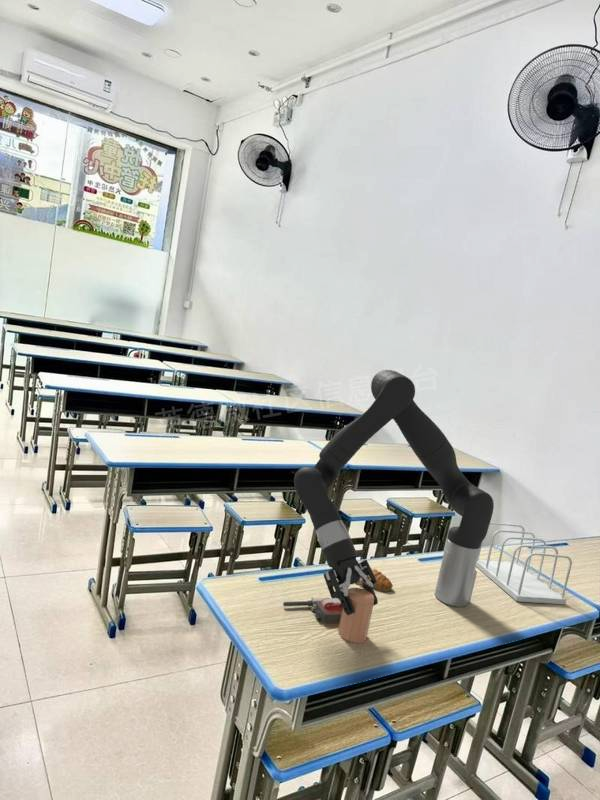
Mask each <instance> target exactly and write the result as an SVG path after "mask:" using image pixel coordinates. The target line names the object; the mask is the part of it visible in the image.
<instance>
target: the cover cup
mask: <svg viewBox="0 0 600 800" xmlns="http://www.w3.org/2000/svg"><path fill="white" fill-rule="evenodd" d="M348 596H349V598H350V600H351V602H352V605H353V607H354V610H355V612H354V613H352V614H350V615H347V614H346V613H345V612H344V609H342V614H341V619H340V623H338V624H339V625H338V630H337V631H338V635H339V636H340V638H341V639H343V640H345V641H348V643H349V642H351V643H355V644H359V643H364V642H365V641H366V640H367V637H368V633H369V627H370V623H371V618H372V615H373V614H372V613H373V608H374V606H375V605H374V596H373V594H371V593H370V592H369V591H367V590H364V589H362V588H361V587H349V588H348ZM373 605H374V606H373Z"/></svg>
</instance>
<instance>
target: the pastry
mask: <svg viewBox="0 0 600 800" xmlns="http://www.w3.org/2000/svg"><path fill="white" fill-rule="evenodd" d="M371 570H372V572H373V574H374V576H375V578H376V580H377V583H375V584H374V585H373V589H374V590H377V591H380V592H382V591H383V592H389V591H392V589H393V586H394V585H393V583H392V582H391V580H390V579H389V577H387V576H386V575H384V574H383V573H382V571H379V570H377V569H376V568H374V569H373V568H371ZM360 578H361V577H360ZM368 578H369V580H371V578H370V576H369V575H368Z"/></svg>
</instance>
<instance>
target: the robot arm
mask: <svg viewBox="0 0 600 800" xmlns="http://www.w3.org/2000/svg"><path fill="white" fill-rule="evenodd" d="M370 389H371V394H372V397H373V398H374V399H375V400H374V401H373V403H372V404H371V405H370V406H369V407H368V408H367V409H366V411H365V412H363V413H362V414H361V415H360V416H358V417H357V418H355V420H353V421H351V422H349V423H348V424H346V425H345V426H344V427H342V428H341V429H340V430H339V431H338V432H336V434H334V436H333V437H332V438H331V439H330V440H329V441H328V442H327V443H326V444H325V445H324V447H323V448H322V449H321V450H320V452H319V455H318V457H319V459H318V461H317V462H316V463H315V465H314V466H313V467H310V466H306V467H305V466H303V467H301V468H300V469H298V470H297V471H296V472H295V475H294V478H293V484H294V490H295V491H296V494H297V496H298V497H299V500H300V502H301V503H302V505H303V506H304V508H305V510H306V511H307V513H308V514H309V516H310V520H311V523H312V526H313V527H314V528H313V529H314V530H315V534H316V536H317V537H316V538H317V541H318V543H319V546H320V549H321V551H322V553H323V556H324V558H325V561H326V563H327V565H328V567H329V568H330V570H327V571H326V572H324V573H323V577H324V578H323V579H324V581H325V583H326V587H327V589H328V592H329V595H330V597H331V598H333V599H334V598H338V599H339V600H340V602H341V604H342V607H343V609H344V612H345V613H346V614H347V615H350V614H352V613H354V612H355V610H354V607H353V605H352V602H351V600H350V598H349V596H348V589H350V586H351V585H356V586H359V588H361V589H364V590H367V591H369V592H370V593H371V594H373V596H374V605H373V607H374V606H375V605H378V604H379V600H378V597H377V594H376V592H375V591H374V590H375V589H374V588H373V585H374V584H375V583H377V580H376V578H375V576H374V574H373V572H372V570H371V569H372V567H371V566H370V564H369V562H368V560H367V559H364V560H362V561H360V562H359V561H358V560H357V556H358V553H357V551H356V548H355V545H354V543H353V540H352V539H351V535H350V534H349V533H350V532H349V531H348V530H347V529H348V528H347V527H346V526H345V523H344V522H343V520H342V517H341V515H340V513H339V511H338V508H337V506H336V504H335V503H334V502H333V501H332V500H331V498H329V496H328V494H327V491H328V490H329V489H330V487H331V486H332V484H333V483H334V481H335V480H336V478H337V477H338V475H339V473H340V472H341V471H342V469H343V468H344V467H345V466H346V465H347V463H349V461H350V460H351V459H352V458H353V457H354V456H355V455H356V453H357V452H358V451H359V450H360V449H361V448H362V447H363V446H364V445H365V444H366V443H367V442H368V441H369V440H370V439H371V438H372V437H374V436H375V435H376V434H377V433H378V432H379V431H380V430H382V428H384V427H385V426H386V425H387V424H388V423H390V421H392V420H393V421H394V422H395V423H396V425H397V427H398V428H399V430H400V432H401V434H402V435H403V438H405V441H406V442H407V443H408V445H409V447H410V448H411V449H412V451H413V453H414V454H415V456H416V457H417V458H418V460H419V461H420V463H421V464H422V465H423V467H424V468H425V469H426V471H428V473H429V474H430V476H431V477H432V478H433V479H434V480H435V482H436V483H437V484H438V485H439V487H440V489H441V490H442V492H443V494H444V496H445V498H446V500H447V502H448V503H449V506H450V507H451V509H452V510H454V512H455V513H456V514H458V515H460V516H461V520H460V523H459V526H451V527H450V528H449V529H448V532H447V536H446V541H445V545H444V549H443V553H442V560H441V562H440V563H441V564H440V568H439V573H438V577H437V582H436V585H435V590H434V596H435V597H436V598H437V599H438V600H439V601H440V602H442V603H444V604H447V605H449V606H452V607H457V608H459V607H460V608H462V607H466V606H467V605H468V604H469V603H471V601H472V595H473V591H474V587H475V582H476V578H477V573H478V571H477V570H476V568H477V567H476V564H477V560H478V555H479V551H480V547H481V548H482V546H481V543H482V544H483V541H484V540H485V539H486V536H487V535H488V532H489V528H490V525H491V524H490V522H492V517H493V514H494V505H495V504H494V500H493V497H492V496H491V495H490V494H489V492H486V491H485V490H483V489H481V488H479V487H477V486H476V485H474V484H472V482H470V481H469V479H468V478H467V477H466V475H464V474H463V472H462V471H461V469H460V468H459V466H458V462H457V457H456V456H457V455H456V452H455V450H454V447H453V446H452V443H450V441H449V440H448V438H447V436H446V435H445V434H444V432H443V431H442V430H441V429H440V427H439V426H437V424H436V423H435V422H434V421H433V420H432V419H431V418H430V417H429V416H428V415H427V414H426V413H425V412H424V411H423V410H422V409H421V408H420V407H419V406H418V405H417V403H416V402H415V401H414V398H415V395H416V387H415V384H414V382H413V381H412V380H411V379H410V378H409V377H407V375H404V374H401V373H400V372H398V371H395V370H392V369H384V370H379V372H377V373H375V375H374V376H373V378H372V379H371V384H370ZM489 524H490V525H489ZM480 552H481V551H480ZM479 556H480V555H479ZM368 575H369V576H370V578H371V580H369V578H368ZM360 577H361V578H360ZM331 598H330V599H331Z"/></svg>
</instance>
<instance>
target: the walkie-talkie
mask: <svg viewBox="0 0 600 800" xmlns="http://www.w3.org/2000/svg"><path fill="white" fill-rule="evenodd" d="M282 604H283V607H299V606H302V607H303V606H304V607H305V606H307V607H310V610H311V611H312V612H314V615H315V619H316V620H319V621H320V624H321V623H322V624H340V619H341V614H342V609H343V607H342V604H341V602H340V600H339V599H338V598H334V599H333V598H329V597H311V600H306V601H305V600H303V601H299V600H298V601H284V602H283V603H282Z"/></svg>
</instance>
